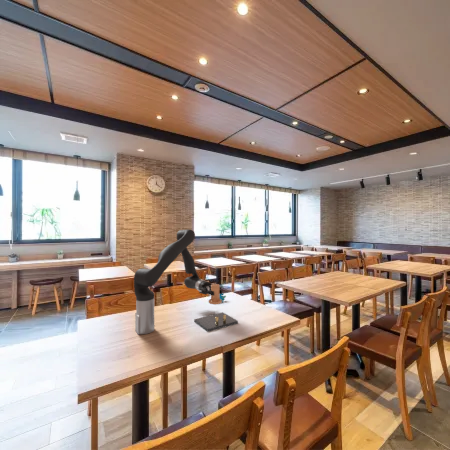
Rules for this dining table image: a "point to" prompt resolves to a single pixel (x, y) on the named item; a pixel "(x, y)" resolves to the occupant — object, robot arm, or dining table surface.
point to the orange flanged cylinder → (215, 294)
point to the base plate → (215, 321)
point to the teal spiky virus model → (222, 297)
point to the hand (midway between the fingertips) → (217, 292)
